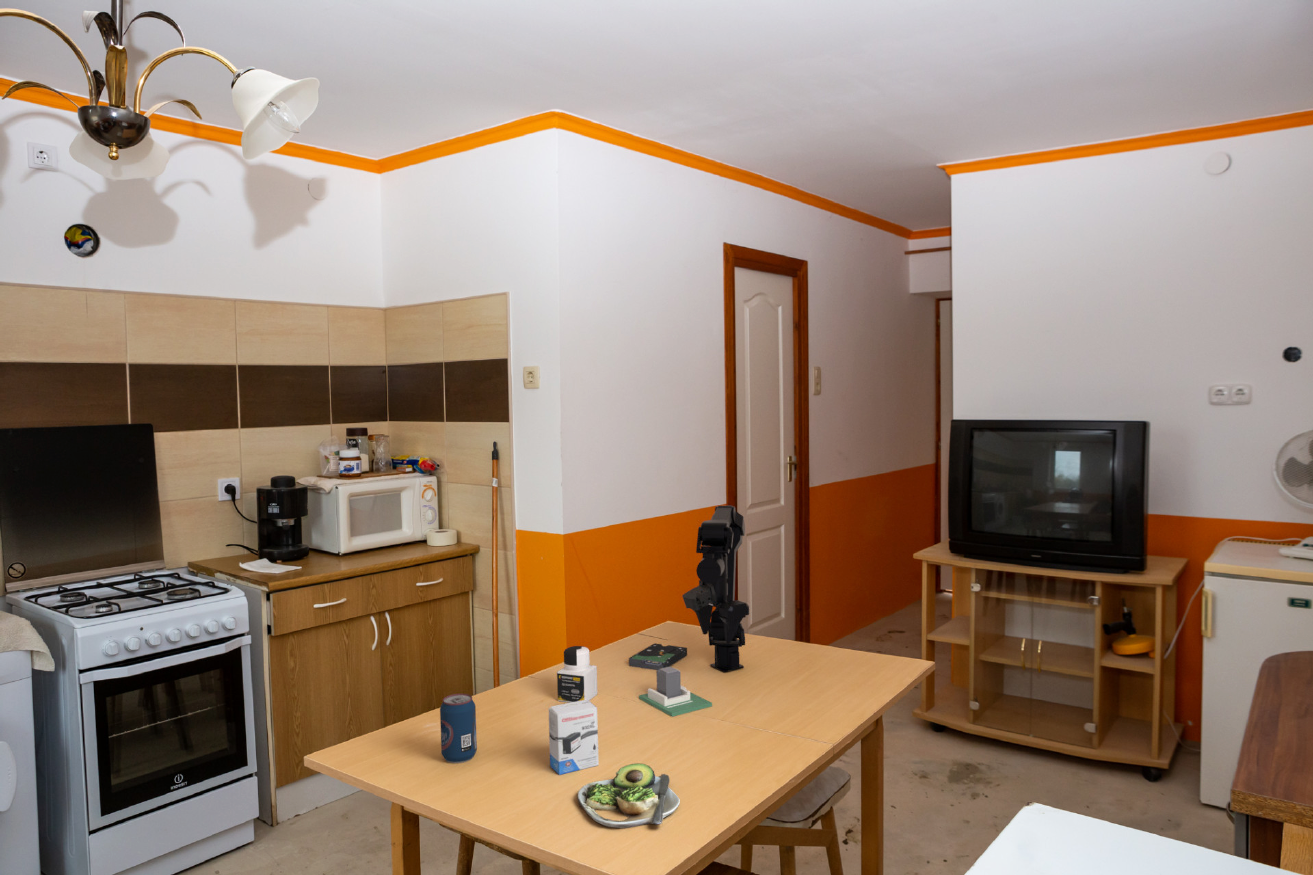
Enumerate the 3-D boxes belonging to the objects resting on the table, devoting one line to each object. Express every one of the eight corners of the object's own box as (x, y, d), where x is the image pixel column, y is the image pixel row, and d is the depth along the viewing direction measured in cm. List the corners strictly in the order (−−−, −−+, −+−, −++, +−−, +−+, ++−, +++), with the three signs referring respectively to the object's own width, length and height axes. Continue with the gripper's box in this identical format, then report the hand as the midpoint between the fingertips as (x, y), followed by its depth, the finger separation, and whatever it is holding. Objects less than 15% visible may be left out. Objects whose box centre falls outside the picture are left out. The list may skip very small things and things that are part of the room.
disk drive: (653, 652, 244) (628, 667, 231) (653, 642, 244) (628, 657, 231) (687, 657, 239) (663, 672, 226) (687, 647, 239) (663, 662, 226)
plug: (657, 697, 205) (656, 668, 204) (673, 693, 207) (672, 665, 207) (666, 702, 201) (665, 673, 201) (682, 698, 204) (682, 669, 203)
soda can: (436, 756, 176) (433, 697, 176) (467, 747, 180) (466, 689, 180) (450, 767, 171) (448, 707, 170) (483, 758, 175) (481, 698, 174)
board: (639, 698, 207) (638, 686, 206) (677, 688, 213) (677, 677, 212) (672, 716, 195) (671, 704, 195) (712, 706, 201) (711, 694, 201)
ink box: (558, 775, 166) (556, 714, 166) (549, 765, 171) (547, 706, 170) (599, 765, 170) (598, 706, 170) (589, 756, 175) (588, 698, 174)
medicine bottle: (557, 701, 206) (555, 650, 205) (571, 691, 213) (570, 642, 212) (584, 704, 203) (583, 653, 203) (597, 694, 210) (596, 645, 209)
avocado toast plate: (703, 823, 148) (703, 797, 147) (602, 845, 141) (601, 817, 141) (661, 777, 166) (661, 753, 165) (570, 794, 159) (569, 769, 159)
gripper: (665, 572, 213) (667, 635, 214) (711, 585, 198) (712, 654, 199) (703, 566, 219) (704, 627, 220) (750, 579, 204) (751, 645, 205)
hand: (716, 638), depth 211 cm, fingers open, 9 cm apart
